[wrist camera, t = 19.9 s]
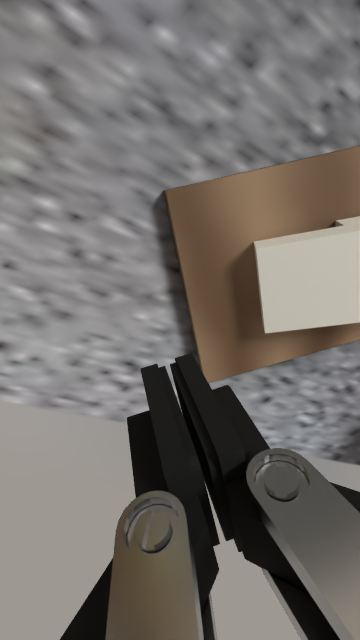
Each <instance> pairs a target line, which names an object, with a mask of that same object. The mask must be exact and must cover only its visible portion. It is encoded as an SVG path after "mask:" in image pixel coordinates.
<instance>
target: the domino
mask: <svg viewBox="0 0 360 640" xmlns="http://www.w3.org/2000/svg"><path fill="white" fill-rule="evenodd" d="M254 250H255V259H256V268H257V277H258V287H259V296H260V305H261V314H262V322H263V326H264V331H265V333H273V332H282V331H291V330H299V329H308V328H317V327H325V326H334V325H342V324H351V323H360V223H355V224H349V225H344V226H338V227H333V228H327V229H321V230H316V231H310V232H305V233H299V234H293V235H288V236H282V237H277V238H271V239H265V240H260V241H254Z"/></svg>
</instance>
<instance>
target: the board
mask: <svg viewBox="0 0 360 640" xmlns="http://www.w3.org/2000/svg"><path fill="white" fill-rule="evenodd" d="M163 192H164V197H165V202H166V207H167V212H168V216H169V221H170V226H171V231H172V235H173V240H174V245H175V250H176V254H177V259H178V264H179V269H180V274H181V278H182V283H183V288H184V293H185V297H186V302H187V307H188V312H189V317H190V321H191V326H192V331H193V336H194V340H195V345H196V350H197V355H198V360H199V364H200V369H201V371H202V373H203V374H204V376H205V378H206V380H207V382H208V383H209V382H213V381H216V380H220V379H223V378H227V377H230V376H234V375H237V374H241V373H244V372H248V371H251V370H255V369H258V368H262V367H265V366H269V365H272V364H276V363H279V362H283V361H286V360H290V359H293V358H297V357H300V356H304V355H307V354H311V353H314V352H318V351H321V350H325V349H328V348H332V347H335V346H339V345H342V344H346V343H349V342H353V341H356V340H360V323H351V324H342V325H334V326H325V327H317V328H308V329H299V330H291V331H282V332H273V333H265V331H264V326H263V322H262V314H261V305H260V296H259V287H258V277H257V268H256V259H255V250H254V241H260V240H265V239H271V238H277V237H282V236H288V235H293V234H299V233H305V232H310V231H316V230H321V229H327V228H333V227H335V221H336V220H342V219H347V218H353V217H358V216H360V146H357V147H352V148H348V149H344V150H339V151H335V152H331V153H326V154H322V155H317V156H313V157H309V158H304V159H300V160H296V161H291V162H287V163H283V164H278V165H274V166H269V167H265V168H261V169H256V170H252V171H248V172H243V173H239V174H234V175H230V176H226V177H221V178H217V179H213V180H208V181H204V182H200V183H195V184H191V185H186V186H182V187H178V188H173V189H169V190H165V191H163Z"/></svg>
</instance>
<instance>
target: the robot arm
mask: <svg viewBox="0 0 360 640" xmlns="http://www.w3.org/2000/svg"><path fill="white" fill-rule="evenodd" d="M175 361H176V363H173V364H170V367H171V371H172V375H173V379H174V383H175V386H176V390H177V394H178V398H179V402H180V406H181V409H180V406H179V404H178V401H177V398H176V395H175V392H174V390H173V387H172V384H171V381H170V379H169V376H168V373H167V370H166V368H165V366H163V367H160V368H158V365H157V364H154V365H151V366H147V367H144V368H141V373H142V378H143V382H144V387H145V392H146V396H147V401H148V405H149V411H146V412H142V413H139V414H136V415H133V416H130V417H127V424H128V432H129V442H130V451H131V459H132V468H133V476H134V486H135V494H136V499H134V500H133V501H132V502H131V503H130V504H129V505H128V507H126V508H125V510H124V511H123V513H122V515H121V517H120V519H119V521H118V525H117V529H116V535H115V546H114V556H113V559H112V560H111V562H110V563H109V565H108V567H107V568H106V570H105V571H104V573H103V574H102V576H101V577H100V579H99V580H98V582H97V584H96V585H95V586H94V588H93V590H92V591H91V593H90V594H89V596H88V597H87V599H86V600H85V602H84V603H83V605H82V606H81V608H80V610H79V611H78V613H77V614H76V616H75V617H74V619H73V620H72V622H71V623H70V625H69V626H68V628H67V629H66V631H65V633H64V634H63V636H62V637H61V639H60V640H217V633H216V627H215V620H214V613H213V606H212V599H211V594H210V591H211V588H212V586H213V584H214V581H215V579H216V576H217V573H218V571H219V567H218V563H217V560H216V556H215V552H214V548H213V546H216V545H218V544H220V542H219V538H218V534H217V530H216V526H215V522H214V518H213V514H212V510H211V506H210V502H209V498H208V494H207V490H206V486H207V489H208V492H209V495H210V497H211V500H212V503H213V506H214V509H215V512H216V514H217V517H218V520H219V523H220V525H221V528H222V531H223V534H224V537H225V539H226V541H228V540H231V539H234V541H235V544H236V546H237V548H238V551H239V552H241V551H242V552H243V555H244V557H245V559H246V560H248V561H250V562H252V563H254V564H256V565H257V566H259V567H261V568H262V571H263V573H264V575H265V577H266V579H267V581H268V582H269V584H270V586H271V588H272V589H273V591H274V593H275V594H276V596H277V598H278V600H279V602H280V603H281V605H282V607H283V608H284V610H285V612H286V614H287V615H288V617H289V619H290V621H291V622H292V624H293V626H294V628H295V629H296V631H297V633H298V635H299V636H300V638H301V640H360V492H358V491H355V490H352V489H349V488H346V487H343V486H340V485H337V484H333V483H331V482H329V481H328V480H327V479H326V478H324V476H323V475H322V474H321V473H320V472H319V471H318V470H317V469H316V468H314V467H313V465H312V464H311V463H310V462H309V461H308V460H306V459H305V458H304V457H302V456H301V455H300V454H298V453H296V452H293V451H291V450H287V449H282V448H273V449H270V448H269V446H268V445H267V443H266V441H265V440H264V438H263V437H262V435H261V434H260V432H259V431H258V429H257V428H256V426H255V425H254V423H253V421H252V420H251V418H250V417H249V415H248V414H247V412H246V411H245V409H244V408H243V406H242V405H241V403H240V401H239V400H238V398H237V397H236V395H235V394H234V392H233V391H232V389H231V388H230V387H229V386H228V385H226V386H223V387H220V388H217V389H213V390H212V389H211V387H210V385H209V384H208V382H207V380H206V378H205V376H204V374H203V373H202V371H201V369H200V367H199V365H198V364H197V362H196V360H195V358H194V356H193V355H192V353H190V354H187V355H183V356H180V357H177V358H175ZM181 410H182V412H181ZM182 414H183V415H182ZM205 483H206V486H205Z"/></svg>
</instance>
